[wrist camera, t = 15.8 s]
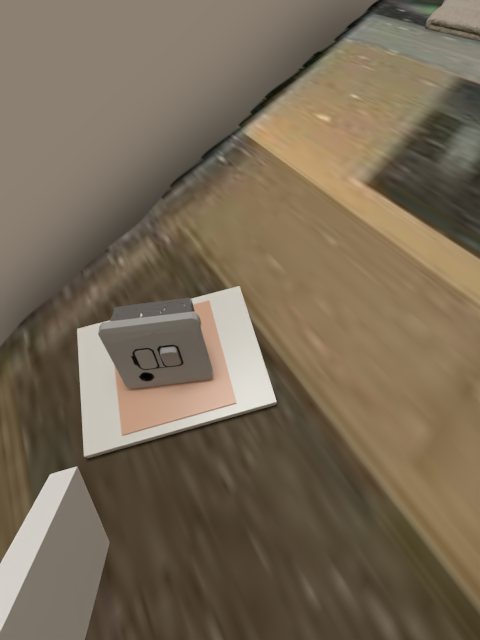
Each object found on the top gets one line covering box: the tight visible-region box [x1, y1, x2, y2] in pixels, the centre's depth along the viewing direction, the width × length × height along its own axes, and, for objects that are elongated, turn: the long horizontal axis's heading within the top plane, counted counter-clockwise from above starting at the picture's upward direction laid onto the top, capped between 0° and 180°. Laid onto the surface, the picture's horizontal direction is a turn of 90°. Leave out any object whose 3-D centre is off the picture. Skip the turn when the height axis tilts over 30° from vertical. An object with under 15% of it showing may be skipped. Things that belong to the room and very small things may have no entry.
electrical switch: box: [98, 298, 213, 389], centre depth 38 cm, size 9×5×9 cm, turn 95°
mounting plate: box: [77, 286, 277, 458], centre depth 43 cm, size 20×15×1 cm
